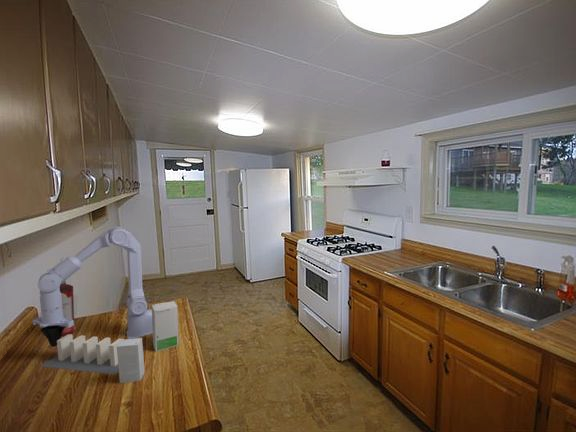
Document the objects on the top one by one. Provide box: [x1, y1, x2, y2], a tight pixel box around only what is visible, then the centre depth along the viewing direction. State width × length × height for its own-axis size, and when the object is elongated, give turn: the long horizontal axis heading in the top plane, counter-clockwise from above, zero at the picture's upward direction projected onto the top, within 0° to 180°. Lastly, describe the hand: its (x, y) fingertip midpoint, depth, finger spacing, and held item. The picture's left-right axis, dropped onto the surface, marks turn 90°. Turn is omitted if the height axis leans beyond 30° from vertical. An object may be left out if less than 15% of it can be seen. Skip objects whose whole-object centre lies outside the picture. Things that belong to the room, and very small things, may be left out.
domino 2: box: [70, 334, 86, 362], centre depth 100 cm, size 2×4×7 cm, turn 170°
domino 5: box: [109, 338, 124, 366], centre depth 97 cm, size 2×4×7 cm, turn 170°
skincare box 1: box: [117, 337, 146, 384], centre depth 89 cm, size 6×4×12 cm
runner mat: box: [40, 354, 119, 375], centre depth 99 cm, size 28×12×1 cm, turn 80°
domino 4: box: [96, 337, 112, 365], centre depth 98 cm, size 2×4×7 cm, turn 170°
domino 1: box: [56, 333, 74, 361], centre depth 101 cm, size 2×4×7 cm, turn 170°
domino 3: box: [83, 336, 99, 363], centre depth 99 cm, size 2×4×7 cm, turn 170°
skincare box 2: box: [151, 301, 180, 352], centre depth 108 cm, size 8×7×16 cm
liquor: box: [60, 280, 77, 337], centre depth 117 cm, size 7×7×28 cm
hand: (55, 345), depth 102 cm, fingers closed
